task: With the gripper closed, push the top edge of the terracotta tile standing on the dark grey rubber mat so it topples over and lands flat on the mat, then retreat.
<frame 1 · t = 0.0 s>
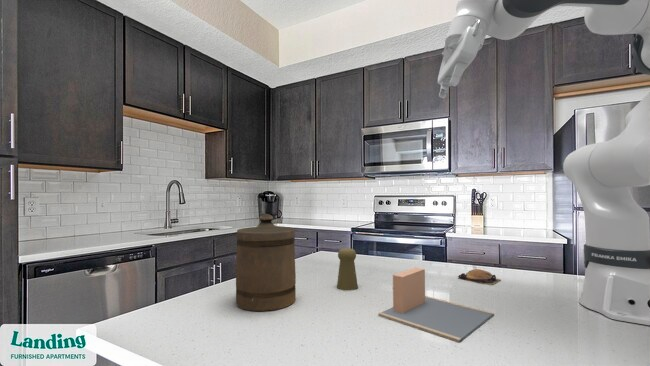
hand: (447, 91, 79), 52 cm above the countertop, tool tilted 20°, fingers open, 8 cm apart
wooden container: (266, 301, 81), on the countertop
tile: (409, 306, 75), resting on mat
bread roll: (479, 281, 99), on the countertop
mat: (435, 315, 71), on the countertop
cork: (347, 287, 92), on the countertop
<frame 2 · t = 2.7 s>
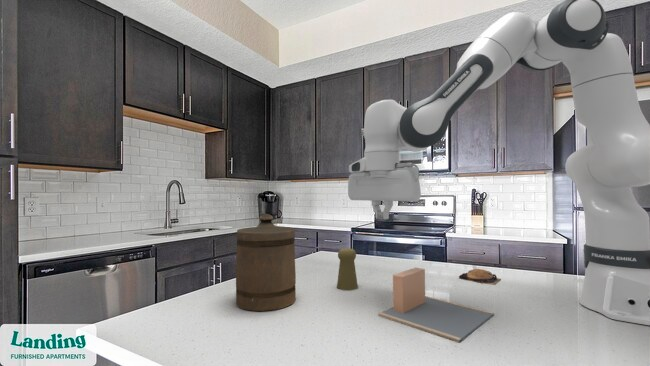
hand: (382, 218, 81), 20 cm above the countertop, tool pointing down, fingers closed
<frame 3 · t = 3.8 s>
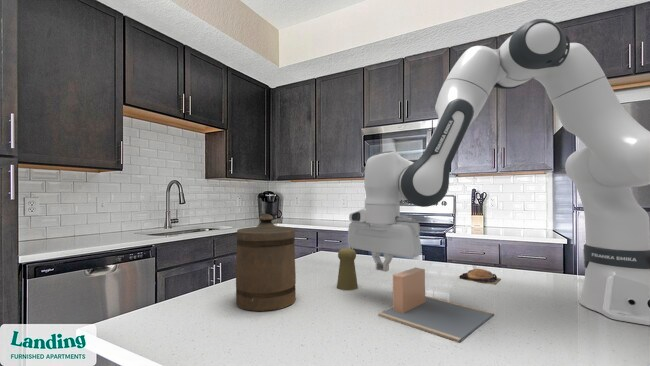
hand: (382, 270, 81), 7 cm above the countertop, tool pointing down, fingers closed
nothing on the countertop moved.
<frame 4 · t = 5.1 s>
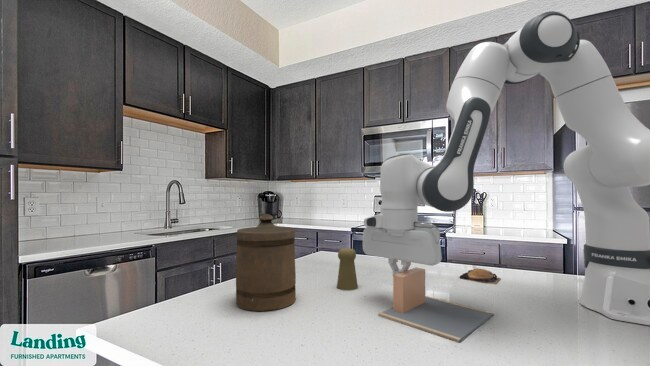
hand: (399, 278, 78), 6 cm above the countertop, tool pointing down, fingers closed
tile: (409, 306, 75), resting on mat, touching gripper
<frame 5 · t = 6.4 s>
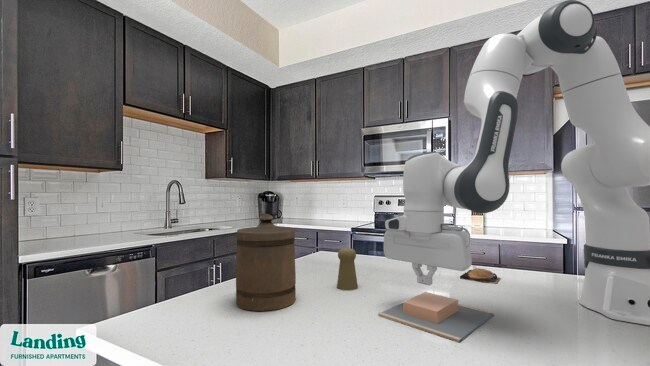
hand: (424, 283, 73), 6 cm above the countertop, tool pointing down, fingers closed
tile: (414, 302, 75), point 2 cm above the countertop, tilted 90°, touching mat
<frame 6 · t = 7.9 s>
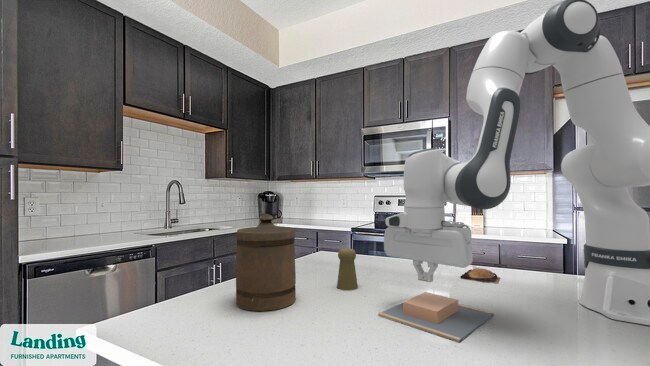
hand: (425, 280, 73), 7 cm above the countertop, tool pointing down, fingers closed
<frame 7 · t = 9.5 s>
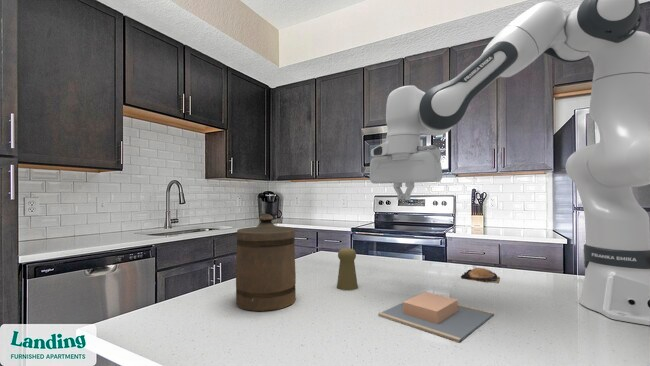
hand: (403, 200, 85), 25 cm above the countertop, tool pointing down, fingers closed
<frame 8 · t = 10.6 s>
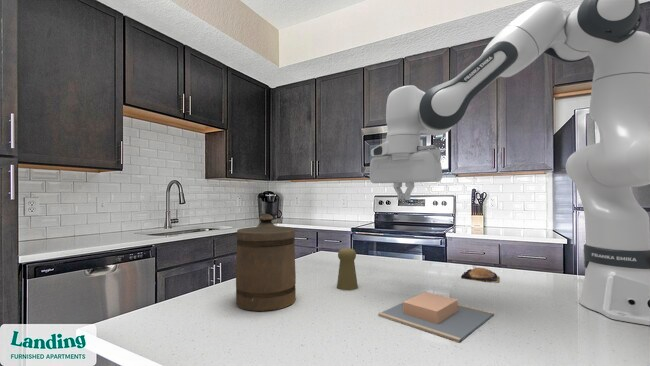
hand: (403, 200, 85), 25 cm above the countertop, tool pointing down, fingers closed
at the end: tile tilted 90°; tile inside the target area (5.2 cm from its centre), point 1.6 cm above the countertop; the gripper is holding nothing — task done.
